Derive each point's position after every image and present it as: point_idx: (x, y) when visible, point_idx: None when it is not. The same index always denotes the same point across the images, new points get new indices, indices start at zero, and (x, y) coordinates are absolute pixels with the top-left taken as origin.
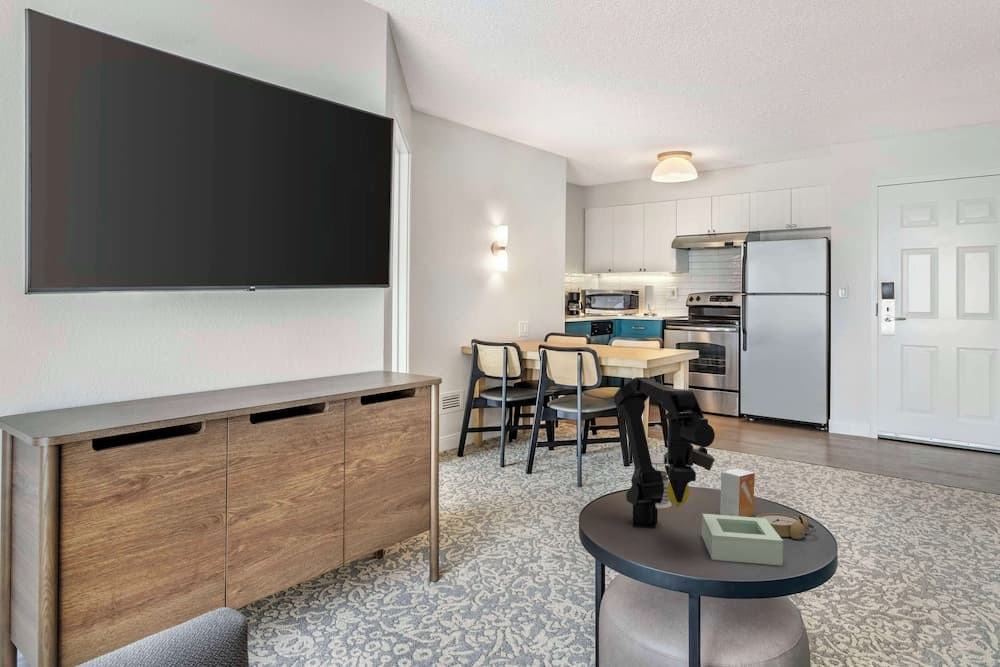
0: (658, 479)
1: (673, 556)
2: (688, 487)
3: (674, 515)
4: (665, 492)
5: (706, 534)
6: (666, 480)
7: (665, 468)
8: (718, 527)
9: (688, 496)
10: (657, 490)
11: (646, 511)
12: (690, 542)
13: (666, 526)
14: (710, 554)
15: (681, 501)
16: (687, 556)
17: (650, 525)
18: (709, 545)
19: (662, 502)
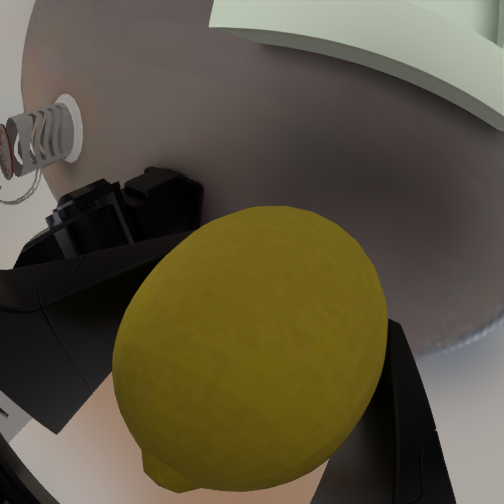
0: (52, 261)
1: (444, 247)
2: (307, 329)
3: (111, 96)
4: (40, 111)
5: (370, 61)
6: (16, 126)
7: (57, 430)
8: (440, 26)
9: (362, 259)
10: (101, 247)
11: (163, 233)
12: (331, 112)
13: (183, 142)
14: (470, 111)
15: (402, 332)
16: (457, 199)
17: (193, 200)
18: (452, 98)
19: (67, 120)
